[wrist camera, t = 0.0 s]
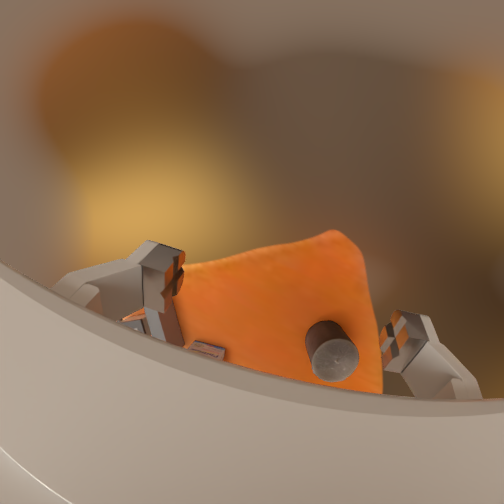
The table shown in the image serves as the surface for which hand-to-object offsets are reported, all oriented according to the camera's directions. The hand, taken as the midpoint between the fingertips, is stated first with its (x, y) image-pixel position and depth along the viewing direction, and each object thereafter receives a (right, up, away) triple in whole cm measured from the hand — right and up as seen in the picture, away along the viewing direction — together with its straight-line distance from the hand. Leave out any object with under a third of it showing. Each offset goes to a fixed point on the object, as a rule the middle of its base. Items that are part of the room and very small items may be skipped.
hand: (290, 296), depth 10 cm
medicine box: (-12, -23, +56) cm, 61 cm away
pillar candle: (+16, -19, +54) cm, 59 cm away
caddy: (-29, -17, +57) cm, 66 cm away
